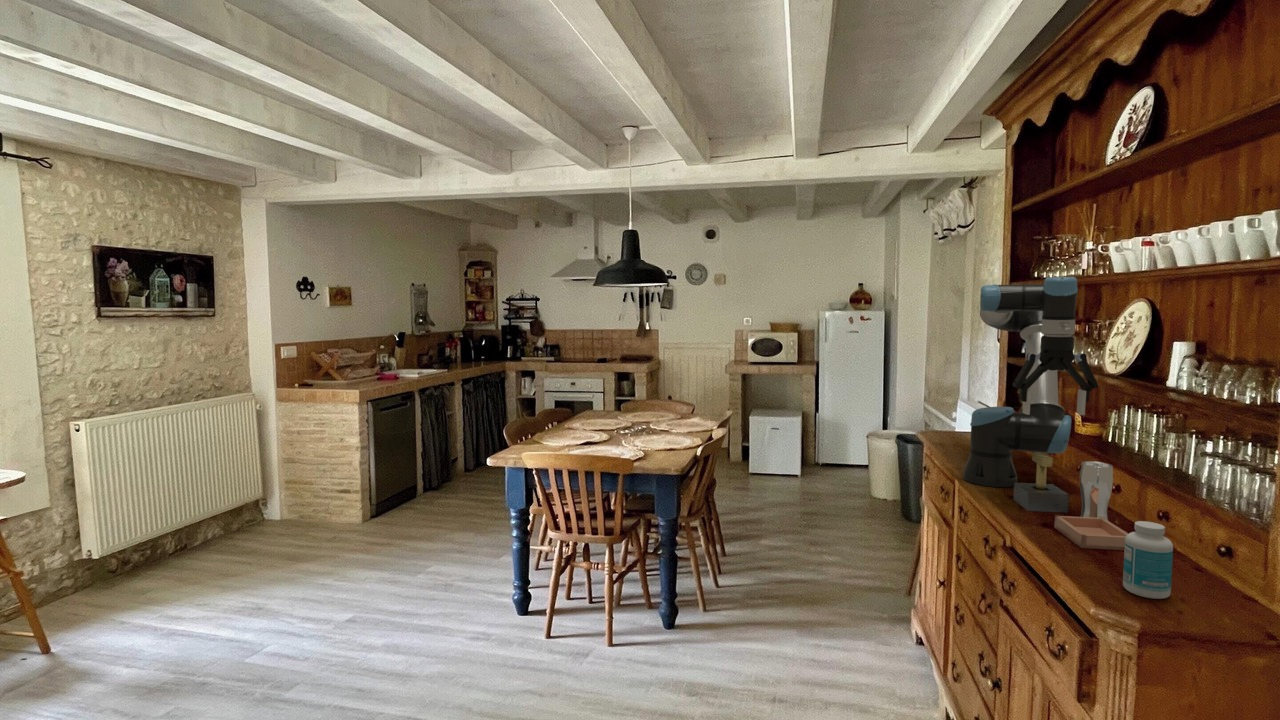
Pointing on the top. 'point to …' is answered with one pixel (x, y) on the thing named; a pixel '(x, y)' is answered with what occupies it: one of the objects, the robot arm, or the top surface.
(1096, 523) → the pale pink tray
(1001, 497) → the top surface
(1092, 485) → the beer glass
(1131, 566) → the pill bottle
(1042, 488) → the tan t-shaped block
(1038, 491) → the grey square block
